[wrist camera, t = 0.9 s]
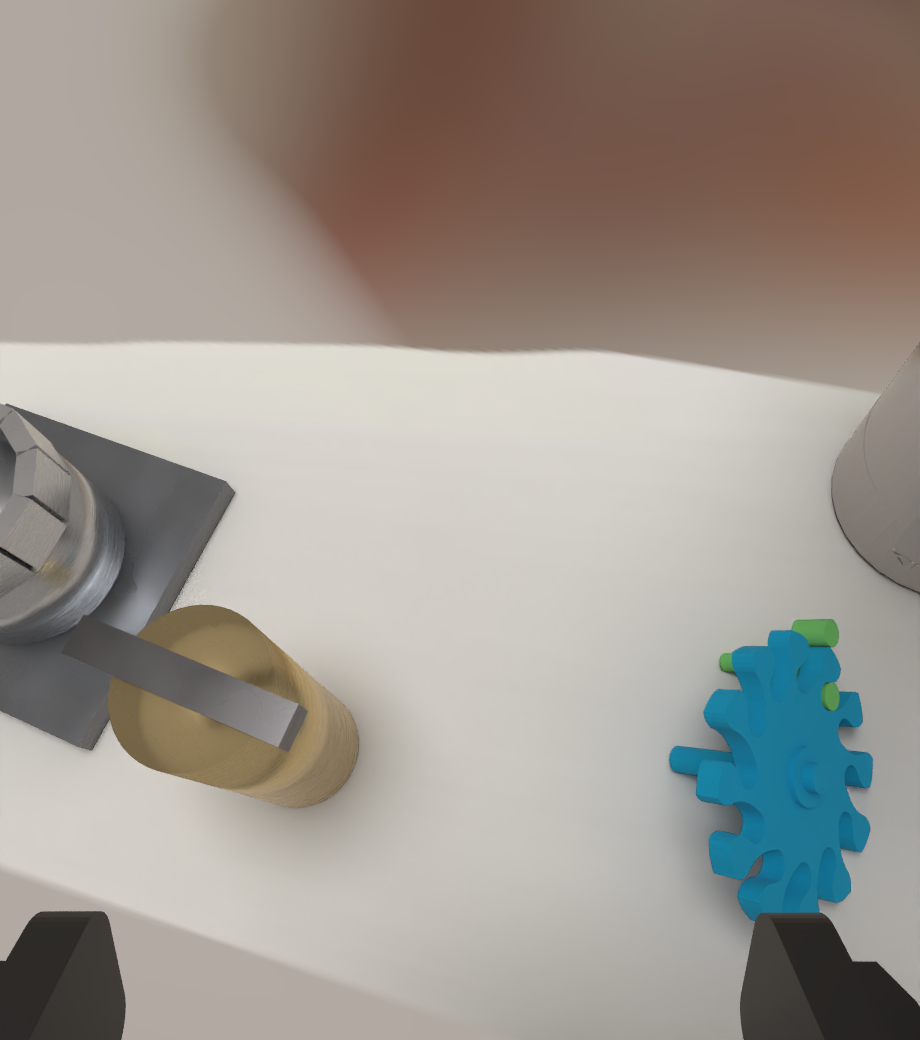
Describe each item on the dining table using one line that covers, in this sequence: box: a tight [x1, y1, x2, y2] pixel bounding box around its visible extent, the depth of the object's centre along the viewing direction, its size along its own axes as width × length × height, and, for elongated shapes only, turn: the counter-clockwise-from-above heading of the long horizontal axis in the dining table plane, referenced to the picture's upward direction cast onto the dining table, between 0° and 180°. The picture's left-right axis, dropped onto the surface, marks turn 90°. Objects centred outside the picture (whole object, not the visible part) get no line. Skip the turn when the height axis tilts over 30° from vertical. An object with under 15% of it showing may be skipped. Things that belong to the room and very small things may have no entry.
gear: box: [670, 619, 873, 921], centre depth 30 cm, size 11×6×10 cm
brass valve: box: [61, 605, 359, 807], centre depth 28 cm, size 5×7×13 cm
